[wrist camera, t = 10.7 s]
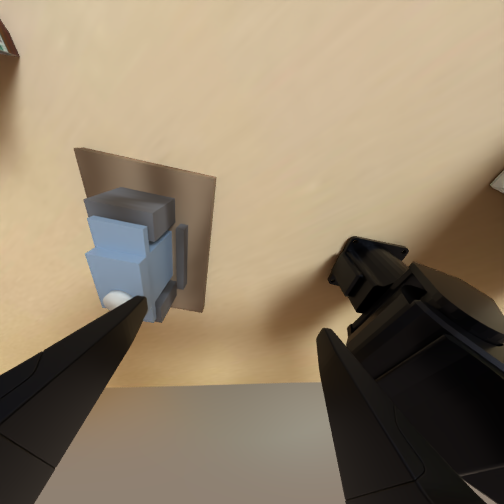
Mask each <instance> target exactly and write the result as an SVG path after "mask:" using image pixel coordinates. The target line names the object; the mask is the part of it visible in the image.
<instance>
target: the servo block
mask: <svg viewBox="0 0 504 504" xmlns="http://www.w3.org/2000/svg"><path fill="white" fill-rule="evenodd" d="M87 220H88V224H89V227H90V231H91V234H92V238H93V241H94V245H95V248H93V249H92V250H90V251H89V252H87V253H85V256H86V259H87V262H88V265H89V268H90V271H91V274H92V277H93V280H94V283H95V286H96V289H97V292H98V296H99V299H100V302H101V305H102V308H107V309H108V310H110V311H111V310H113V309H114V308H116V307H118V306H119V305H121V304H123V303H125V302H126V301H128V300H130V299H131V298H133V297H135V296H137V295H140V296H145V297H146V298H147V304H148V311H147V313H146V316H145V318H144V320H143V321H146V322H152V323H154V322H155V320H156V318H157V317H156V308H155V301H156V300H157V298H158V297H159V295H160V294H161V292H162V291H163V289H164V288H165V286H166V285H167V283H168V282H169V280H170V279H171V277H172V276H173V260H172V231H169V230H167V231H166V232H165V233H164V234H163V235H162V236H161V237H160V238H159V239H158V240H156V241H155V242H153V241H149V240H148V230H147V226H143V225H138V224H133V223H128V222H123V221H118V220H113V219H109V218H104V217H99V216H94V215H93V216H91V217H89V218H87Z"/></svg>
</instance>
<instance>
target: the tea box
mask: <svg viewBox="0 0 504 504" xmlns="http://www.w3.org/2000/svg"><path fill="white" fill-rule="evenodd" d="M490 186H492V188H494V189H496V190H498V191H500V192H502V193H504V170H503V172H502V173H501V174H500V175H499V176H498V177H497V178H496V179H495V180H494V181H493V182H492V183H491V184H490Z"/></svg>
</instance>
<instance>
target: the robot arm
mask: <svg viewBox="0 0 504 504" xmlns="http://www.w3.org/2000/svg"><path fill="white" fill-rule="evenodd" d="M354 240H356V241H355V242H353V241H354ZM403 250H404V251H403ZM402 251H403V252H402ZM408 252H409V250H408V249H407V248H406V247H404V246H400V245H395V244H390V243H386V242H381V241H376V240H371V239H367V238H362V237H357V236H353V237H351V238H350V239H349V241H348V243H347V245H346V247H345V248H344V250H343V252H342V253H341V254H340V256H339V258H338V260H337V261H336V263H335V265H334V267H333V269H332V272H331V274H330V276H329V278H328V281H329V283H330V284H333V285H338V286H340V288H341V290H342V291H343V293H344V295H345V296H347V297H348V298H349V300H350V302H351V303H352V305H353V307H354V309H355V311H356V312H357V313H362V315H361V316H360V317H359V318H358V319H357V320H356V321H355V322H354V323H353V324H350V325H349V326H348V327H347V332H348V339H347V343H346V346H347V347H346V346H345V345H344V343H343V342H342V341H341V340H340V339H339V337H338V336H337V335H336V334H335V333H334V332H333V330H331V329H329V328H322V330H321V331H320V333H319V334H318V336H317V339H316V343H317V353H318V363H319V371H320V377H321V382H322V387H323V392H324V397H325V402H326V407H327V412H328V417H329V422H330V427H331V431H332V437H333V442H334V447H335V451H336V457H337V462H338V467H339V471H340V476H341V481H342V486H343V491H344V496H345V499H346V501H345V502H346V504H487V503H486V502H484V501H483V500H482V499H481V498H480V497H479V496H478V495H477V494H476V493H475V492H474V491H473V490H472V489H471V488H470V487H469V486H468V485H467V484H466V482H467V483H468V484H470V485H471V486H472V487H474V488H475V489H477V490H478V491H480V492H481V493H482V494H484V495H486V496H487V497H488V498H490V499H491V500H493V501H494V502H495V503H497V504H504V315H503V314H502V312H501V311H500V309H499V308H498V306H497V305H496V303H495V302H494V300H493V299H491V298H490V297H488V296H487V295H485V294H484V293H482V292H480V291H479V290H477V289H476V288H474V287H472V286H471V285H469V284H468V283H466V282H464V281H463V280H461V279H459V278H456V277H454V276H451V275H448V274H445V273H443V272H440V271H437V270H435V269H432V268H429V267H426V266H424V265H421V264H418V263H416V262H413V263H412V264H411V265H410V266H409V267H407V266H406V265H405V264H404V263H403V262H402V260H403V259H404V258H405V256H406V255H407V254H408ZM331 280H333V281H331ZM147 311H148V304H147V298H146V297H145V296H140V295H137V296H135V297H133V298H131V299H130V300H128V301H126V302H125V303H123V304H121V305H119V306H118V307H116V308H114V309H113V310H111V311H109V312H108V313H106V314H104V315H103V316H101V317H99V318H97V319H96V320H94V321H92V322H91V323H89V324H87V325H86V326H84V327H82V328H81V329H79V330H77V331H75V332H74V333H72V334H70V335H69V336H67V337H65V338H64V339H62V340H60V341H59V342H57V343H55V344H53V345H52V346H50V347H48V348H47V349H45V350H44V351H43V352H40V353H38V354H36V355H35V356H33V357H31V358H30V359H28V360H26V361H24V362H23V363H21V364H19V365H17V366H16V367H14V368H12V369H11V370H9V371H7V372H5V373H3V374H1V375H0V504H34V503H35V501H36V499H37V498H38V496H39V495H40V493H41V491H42V490H43V488H44V486H45V485H46V483H47V482H48V480H49V478H50V477H51V475H52V473H53V472H54V470H55V467H57V465H58V463H59V462H60V460H61V458H62V457H63V455H64V454H65V452H66V450H67V449H68V447H69V446H70V444H71V442H72V440H73V439H74V437H75V436H76V434H77V432H78V431H79V429H80V428H81V426H82V424H83V423H84V421H85V419H86V418H87V416H88V415H89V413H90V411H91V409H92V408H93V406H94V405H95V403H96V401H97V400H98V398H99V396H100V394H101V393H102V392H103V390H104V388H105V387H106V385H107V383H108V382H109V380H110V379H111V377H112V375H113V374H114V372H115V370H116V369H117V367H118V366H119V364H120V362H121V361H122V359H123V357H124V356H125V354H126V352H127V351H128V349H129V348H130V346H131V344H132V342H133V340H134V338H135V336H136V334H137V332H138V330H139V328H140V326H141V324H142V322H143V320H144V318H145V316H146V313H147Z"/></svg>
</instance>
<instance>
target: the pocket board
mask: <svg viewBox="0 0 504 504" xmlns="http://www.w3.org/2000/svg"><path fill="white" fill-rule="evenodd" d="M74 151H75V155H76V159H77V163H78V166H79V170H80V174H81V177H82V181H83V185H84V188H85V192H86V196H87V198H86V199H84V203H85V206H86V210H87V213H88V217H91V216H93V215H94V216H99V217H104V218H109V219H113V220H118V221H123V222H128V223H133V224H138V225H143V226H147V230H148V240H149V241H153V242H155V241H156V240H158V239H159V238H160V237H161V236H162V235H163V234H164V233H165V232H166V231H167V230H169V231H172V260H173V276H172V277H171V279H170V280H169V282H168V283H167V285H166V286H165V288H164V289H163V291H162V292H161V294H160V295H159V297H158V298H157V300H156V301H155V308H156V317H157V318H156V320H155V322H161V323H162V322H163V320H164V318H165V316H166V314H167V312H168V311H169V309H170V307H172V308H178V309H183V310H189V311H195V312H201V313H202V312H203V309H204V303H205V292H206V282H207V271H208V261H209V250H210V239H211V229H212V218H213V208H214V197H215V187H216V177H213V176H209V175H204V174H200V173H195V172H191V171H186V170H182V169H177V168H173V167H168V166H164V165H159V164H155V163H150V162H146V161H141V160H137V159H132V158H128V157H123V156H119V155H114V154H110V153H105V152H101V151H96V150H92V149H87V148H74Z"/></svg>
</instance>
